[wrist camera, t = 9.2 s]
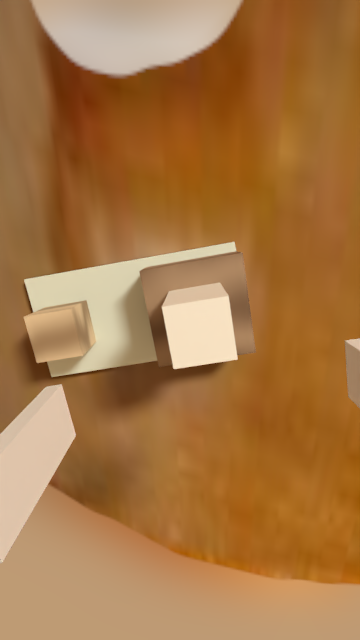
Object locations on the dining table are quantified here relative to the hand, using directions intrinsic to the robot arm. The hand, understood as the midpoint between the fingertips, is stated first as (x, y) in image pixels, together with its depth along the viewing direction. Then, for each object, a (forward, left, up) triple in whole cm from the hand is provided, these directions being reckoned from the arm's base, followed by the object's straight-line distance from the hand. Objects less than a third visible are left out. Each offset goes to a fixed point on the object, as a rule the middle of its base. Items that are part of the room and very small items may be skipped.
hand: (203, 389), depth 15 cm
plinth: (0, 0, -23) cm, 23 cm away
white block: (0, 0, -18) cm, 18 cm away
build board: (0, -7, -24) cm, 25 cm away
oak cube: (0, -15, -23) cm, 28 cm away
